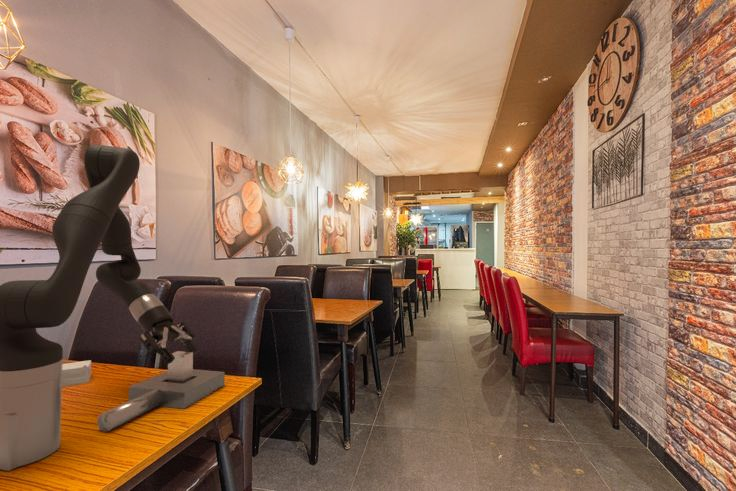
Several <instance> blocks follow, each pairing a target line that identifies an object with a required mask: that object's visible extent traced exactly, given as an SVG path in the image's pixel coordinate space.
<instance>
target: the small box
mask: <svg viewBox="0 0 736 491" xmlns="http://www.w3.org/2000/svg"><path fill="white" fill-rule="evenodd" d="M91 377H92V359H91V360H90V359H89V360H82V361H76V362H68V363H62V388H63V387H64V386H65V387H69V386H70V385H71V386H76V384H77V385H82V384H88V383H89V382H90V380H91ZM71 386H70V387H71Z"/></svg>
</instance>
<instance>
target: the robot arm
mask: <svg viewBox="0 0 736 491" xmlns="http://www.w3.org/2000/svg"><path fill="white" fill-rule="evenodd" d="M83 156H84V157H83V162H84V163H83V164H84V171H85V175H86V178H87V181H88V186H89V188H88V189H86V190H85V191H83V192H81V193H79V194H77V195H75V196H73V197H72V198H71V199H70V200H68V201H67V202H66V203H65V204H64V205H63V207H62V208H61V209H60V212H59V213H58V214H57V217H56V218H55V220H54V222H53V224H52V227H51V229H52V230H51V231H52V232H51V234H52V237H53V241H54V245H55V247H56V249H57V252H58V256H59V257H58V258H59V259H58V262H57V265H56V268H55V269H54V271H53V273H51V274H52V275H51V276H50V277H49V278H47V279H39V280H38V279H33V280H30V279H25V280H24V279H22V280H19V279H18V280H11V281H7V282H4V283H2V284H0V470H3V471H12V470H13V469H17V468H18V467H22V466H25V465H28V464H32V463H34V462H37V461H40V460H42V459H44V458H46V457H48V456H50V455H52V454H54V453H55V452H56V451H57V450H58V449H59V448H60V446H61V432H62V431H61V429H62V428H61V426H62V425H61V424H62V423H61V421H62V420H61V419H62V392H63V390H62V388H63V387H62V364H63V354H64V351H63V350H64V349H63V346H62V344H60V343H58V342H55V341H52V340H49V339H47V338H45V337H43V336H42V335H41V334H39V333H38V331H37V329H45V328H46V329H47V328H55V327H59V326H61V325H63V324H65V323H66V322H67V321H68V319H69V318H70V317H71V315H72V314H73V311H74V310H75V308H76V305H77V303H78V300H79V298H80V295H81V291H82V289H83V286H84V283H85V281H86V277H87V275H88V272H89V269H90V266H91V264H92V262H93V259H94V257H95V256H96V253H97V251H98V249H99V246H100V245H101V250H102V252H103V254H105V255H109V256H120V259H119V260H115V261H110V262H105V263H102V264H100V265H98V267H97V268H96V271H95V277H96V280H97V281H98V283H99V284H100V285H101V286H102V287H103V288H105V289H106V290H107V291H109V292H111V293H112V294H113V295H115V296H116V297H117V298H119V299H121V300H122V302H123V303H124V305H125V306H126V307H127V309H128V310H129V312H130V313H131V315H132V317H133V318H134V320H135V322H137V323H138V326H139V327H141V329H142V330H143V333H142V334H141V335H140V336H139V340H140V342H141V343H142V344H143V346H144V347H145V349H146V351H147V353H149V354H150V355H153V354H157V355H159V356H160V357H161V359H162V360H163V361H164V362H165V363H166V364H167V365H168V364H170V363H172V361H173V360H174V359H175V357H174V356H173V355H172V353H173V352H171V351H170V349H169V348H168V347H167V344H168V343H172V342H174V343H180V344H182V345H184V346H185V347H184V348H186V350H187V352H193V355H195V354H197V352H198V350H199V348H198V346H197V345H196V343H195V342H194V341H193V339H194V338H195V336H196V334H195V333H194V332H193V330H191V328H190V327H189V326H188V325H187V324H186V323H185V321H181V322H180V323H179V324H176V323H174V321H173V319H174V318H173V315H172V314H171V312H170V311H169V310H168V308H167V307H166V306H165V305H164V303H163V302H162V301H161V300H160V299H159V298H158V297H157V296H156V295H155V294H154V293H153V291H152V290H151V289H150V287H149V286H148V285H147V283H145V282H143V281H138V279H139V277H140V275H141V273H142V270H141V269H142V268H141V266H140V263H139V261H138V259H137V256H136V253H135V251H134V246H133V242H132V240H133V239H132V228H131V223H130V221H129V219H128V217H127V215H125V213H124V211H123V210H122V209H121V208H120V205H121V202H122V200H123V198H124V197H125V195H126V194H127V193H128V191H129V190H130V188H131V187H132V185H133V184H134V183H135V180H136V178H137V177H138V174H139V171H140V165H141V161H140V157H139V156H138V154H137V153H136V151H134V150H132V149H129V148H127V147H121V146H120V147H119V146H110V145H104V144H102V145H101V144H90V145H89V146H88V147H87V148H86V149H85V152H84V155H83ZM136 280H137V281H136Z"/></svg>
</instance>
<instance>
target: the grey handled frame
mask: <svg viewBox="0 0 736 491" xmlns="http://www.w3.org/2000/svg"><path fill="white" fill-rule="evenodd" d="M225 375H226V374H225V371H217V370H207V369H206V370H205V369H196V368H195V369H194V368H193V379H192V380H189V381H187V382H185V383H183V384H181V383H171V382H168V370H167V371H165V372H162V373H160V374H157V375H155V376H152V377H150V378H148V379H145V380H142V381H140V382H137V383H135V384H132V385H130V386H129V387H128V401H126V402H124V403H122V404H120V405H117V406H116V407H113V408H111V409H109V410H107V411H104V412H102V413H100V414H99V415H98V417H97V426H98V429H99V430H100V431H102V432H103V433H108V432H109V431H111V430H113V429H115V428H117V427H119V426H122V425H123V424H125V423H127V422H128V421H131V420H133V419H134V418H137V417H138V416H141V415H143V414H144V413H147V412H148V411H151V410H152V409H154V408H156V407H164V408H172V409H181V410H185V409H187V408H189V407H190V406H192V405H194V404H195V402H196V403H198V402H199V401H201V400H203V399H205V398H206V397H207V395H208V394H209V395H211V394H213V393H214V392H213V391H215V390H216V391H218V390H219V389H218V388H220V387H222V386H223V387H225V384H226V383H225V381H226V380H225V377H226V376H225ZM223 387H222V388H223ZM217 389H218V390H217ZM220 389H221V388H220ZM216 391H215V392H216ZM212 392H213V393H212ZM210 393H211V394H210ZM209 395H208V396H209ZM205 396H206V397H205ZM202 398H203V399H202ZM200 399H201V400H200Z"/></svg>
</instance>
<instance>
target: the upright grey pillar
mask: <svg viewBox="0 0 736 491" xmlns="http://www.w3.org/2000/svg"><path fill="white" fill-rule="evenodd" d="M171 353H172V355H173V356H174V357H175V359H174V360H173V361H172V363H170V364H168V363H167V371H168V382H171V383H181V384H183V383H185V382H187V381H189V380H192V379H193V369H194V354H193V352H189V351H183V350H182V351H181V350H177V351H174V352H171Z"/></svg>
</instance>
